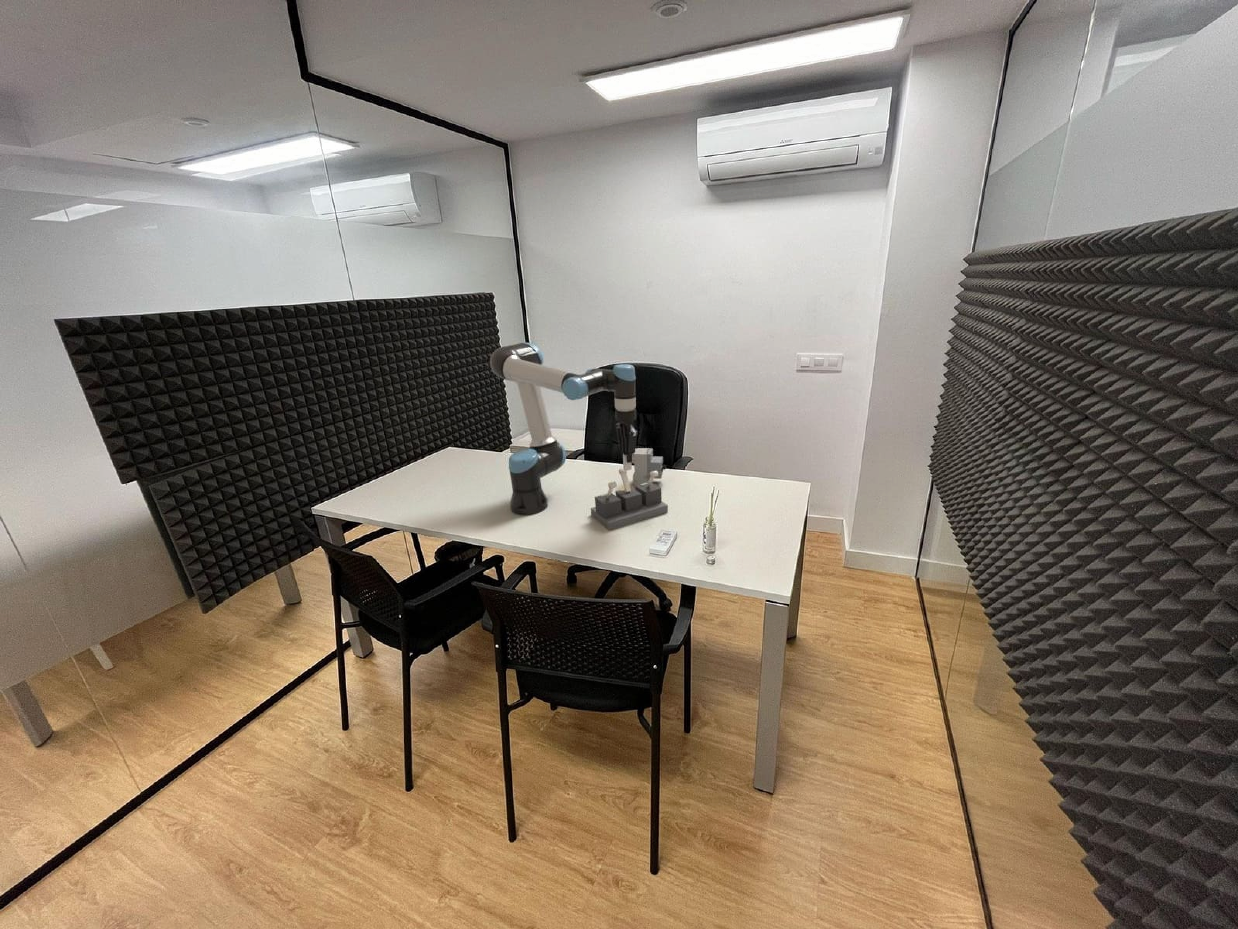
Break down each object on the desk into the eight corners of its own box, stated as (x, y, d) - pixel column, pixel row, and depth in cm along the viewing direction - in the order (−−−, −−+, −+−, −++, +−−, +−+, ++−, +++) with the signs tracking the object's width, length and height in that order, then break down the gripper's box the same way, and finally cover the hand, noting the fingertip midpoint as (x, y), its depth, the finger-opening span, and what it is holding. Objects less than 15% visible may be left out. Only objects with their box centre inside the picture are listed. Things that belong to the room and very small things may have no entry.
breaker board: (591, 515, 189) (588, 474, 183) (647, 498, 201) (646, 460, 194) (609, 530, 177) (606, 487, 171) (667, 512, 188) (667, 471, 182)
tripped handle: (624, 492, 186) (618, 469, 186) (629, 491, 187) (623, 468, 187) (626, 491, 184) (620, 468, 184) (632, 490, 185) (625, 467, 185)
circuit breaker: (665, 486, 211) (664, 454, 206) (633, 485, 214) (631, 453, 209) (666, 480, 218) (666, 448, 213) (635, 479, 221) (634, 448, 216)
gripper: (644, 410, 169) (645, 472, 178) (625, 403, 180) (627, 462, 188) (625, 414, 166) (627, 477, 174) (607, 406, 176) (610, 466, 185)
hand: (627, 469), depth 181 cm, fingers closed
